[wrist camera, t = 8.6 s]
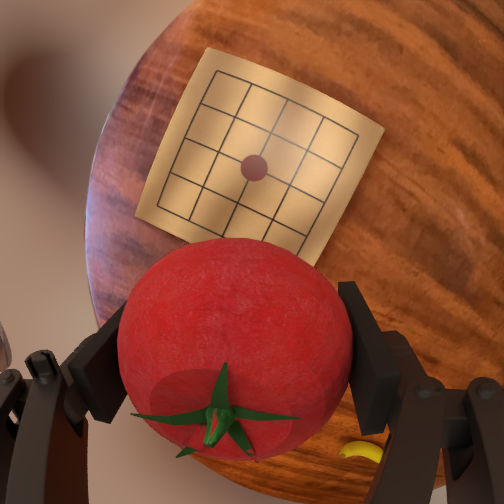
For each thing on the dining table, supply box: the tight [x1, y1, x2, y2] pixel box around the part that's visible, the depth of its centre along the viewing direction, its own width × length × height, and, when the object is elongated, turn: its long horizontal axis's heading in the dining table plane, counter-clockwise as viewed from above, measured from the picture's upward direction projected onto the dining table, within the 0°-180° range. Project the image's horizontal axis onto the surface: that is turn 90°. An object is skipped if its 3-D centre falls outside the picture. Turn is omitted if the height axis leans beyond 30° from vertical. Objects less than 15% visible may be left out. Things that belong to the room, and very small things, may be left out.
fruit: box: [339, 441, 383, 463], centre depth 35 cm, size 10×2×5 cm, turn 64°
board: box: [135, 47, 385, 267], centre depth 26 cm, size 18×18×1 cm
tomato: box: [117, 238, 354, 463], centre depth 10 cm, size 9×9×8 cm
